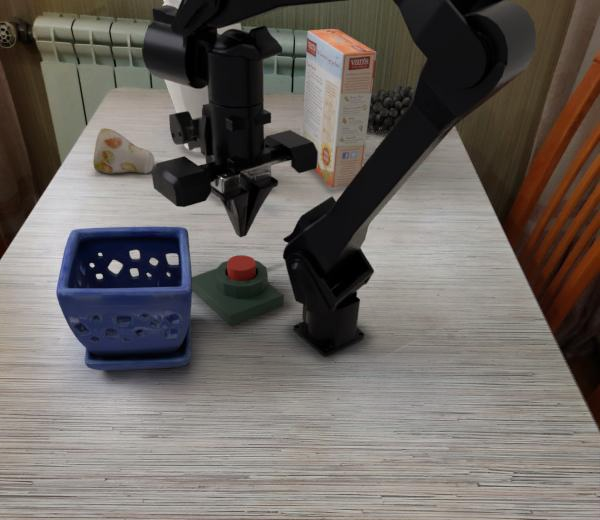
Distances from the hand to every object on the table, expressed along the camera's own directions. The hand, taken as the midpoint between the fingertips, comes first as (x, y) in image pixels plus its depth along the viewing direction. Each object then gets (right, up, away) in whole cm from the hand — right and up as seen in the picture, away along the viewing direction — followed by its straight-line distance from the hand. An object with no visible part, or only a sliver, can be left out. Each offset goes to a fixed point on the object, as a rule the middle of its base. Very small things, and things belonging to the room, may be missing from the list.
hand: (241, 235), depth 73 cm
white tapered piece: (-23, +19, +31) cm, 43 cm away
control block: (-1, -7, +6) cm, 9 cm away
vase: (-11, +27, +40) cm, 50 cm away
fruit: (+24, +35, +50) cm, 66 cm away
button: (0, -4, +4) cm, 6 cm away
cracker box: (+13, +21, +34) cm, 42 cm away
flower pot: (-11, -14, -2) cm, 18 cm away
